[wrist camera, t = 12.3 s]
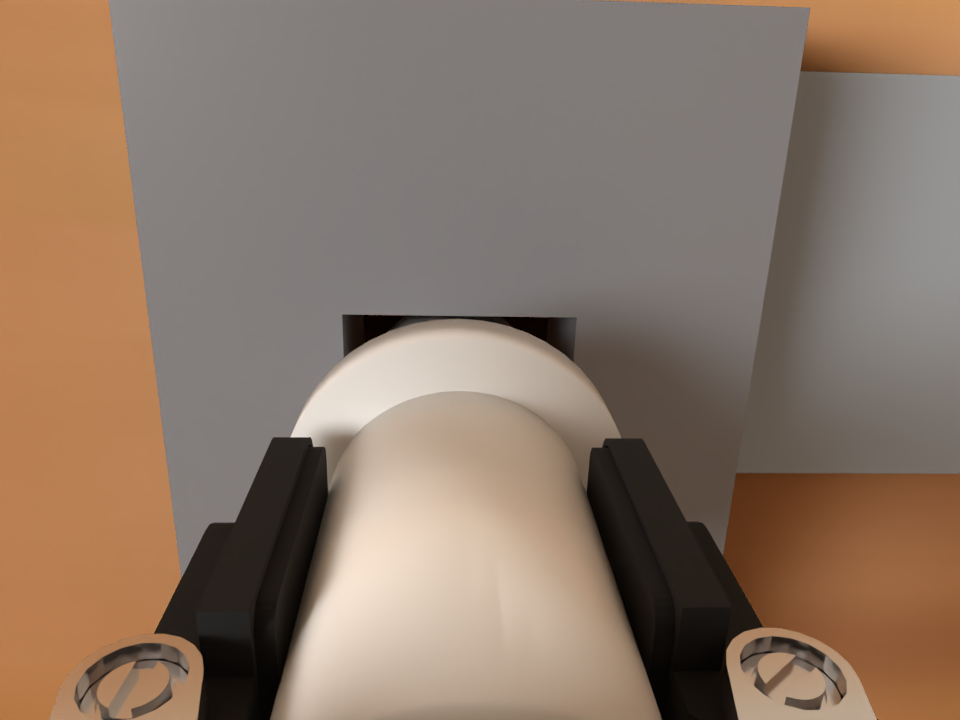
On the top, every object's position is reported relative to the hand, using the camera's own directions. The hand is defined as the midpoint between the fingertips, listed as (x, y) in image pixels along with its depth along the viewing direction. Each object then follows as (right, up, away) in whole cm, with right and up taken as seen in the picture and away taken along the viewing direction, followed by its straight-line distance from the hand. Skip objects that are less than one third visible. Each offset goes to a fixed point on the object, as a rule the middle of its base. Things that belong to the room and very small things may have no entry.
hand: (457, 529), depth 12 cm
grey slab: (0, 0, +9) cm, 9 cm away
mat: (+12, +4, +8) cm, 15 cm away
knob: (0, +2, +5) cm, 6 cm away
